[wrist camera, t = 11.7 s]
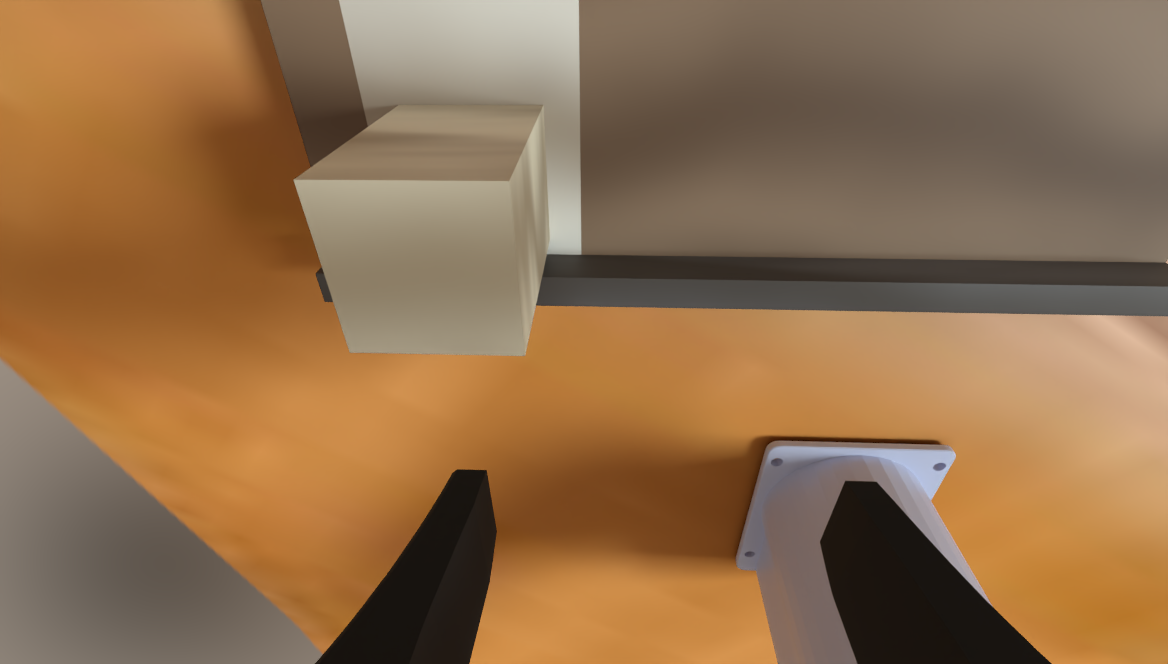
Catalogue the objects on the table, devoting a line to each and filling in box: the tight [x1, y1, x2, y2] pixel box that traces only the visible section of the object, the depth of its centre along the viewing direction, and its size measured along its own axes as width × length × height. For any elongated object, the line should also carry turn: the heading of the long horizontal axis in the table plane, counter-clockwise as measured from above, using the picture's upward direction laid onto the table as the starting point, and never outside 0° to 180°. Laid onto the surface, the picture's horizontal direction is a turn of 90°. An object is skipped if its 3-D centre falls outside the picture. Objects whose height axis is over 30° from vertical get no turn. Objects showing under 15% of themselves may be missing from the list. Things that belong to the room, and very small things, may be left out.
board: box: [261, 0, 1168, 316], centre depth 15 cm, size 9×26×3 cm, turn 90°
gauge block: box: [294, 105, 550, 356], centre depth 13 cm, size 4×4×6 cm
